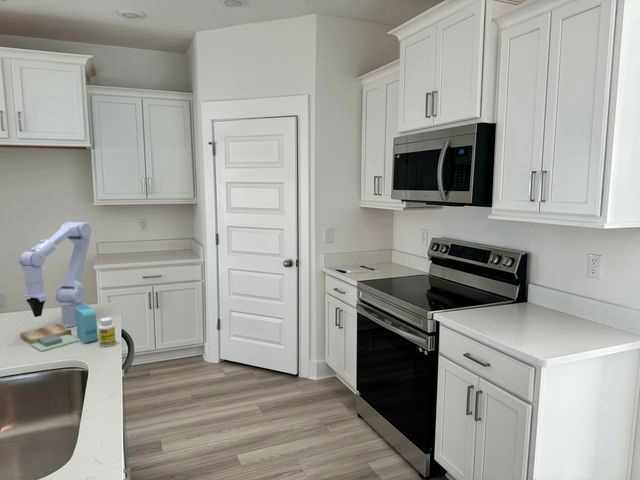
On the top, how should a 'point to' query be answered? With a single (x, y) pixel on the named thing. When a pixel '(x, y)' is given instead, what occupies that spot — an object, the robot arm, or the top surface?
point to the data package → (86, 324)
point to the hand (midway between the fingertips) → (37, 316)
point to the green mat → (65, 341)
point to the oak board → (44, 333)
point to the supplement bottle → (106, 332)
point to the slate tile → (49, 340)
